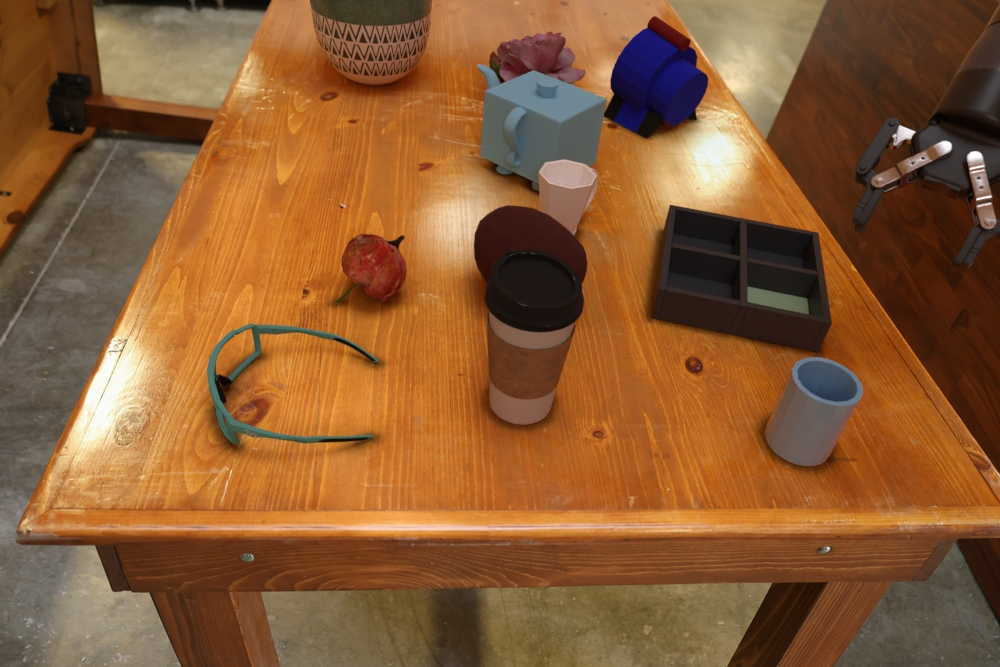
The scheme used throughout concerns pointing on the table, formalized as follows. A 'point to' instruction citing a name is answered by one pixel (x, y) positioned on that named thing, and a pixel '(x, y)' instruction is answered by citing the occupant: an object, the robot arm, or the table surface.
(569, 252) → the dark brown oval ball
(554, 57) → the flower
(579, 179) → the cup
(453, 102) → the table surface
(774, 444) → the blue cup
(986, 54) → the robot arm
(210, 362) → the sunglasses
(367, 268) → the pomegranate
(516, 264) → the coffee cup
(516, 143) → the teapot
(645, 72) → the alarm clock
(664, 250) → the black divided tray
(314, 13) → the planter
